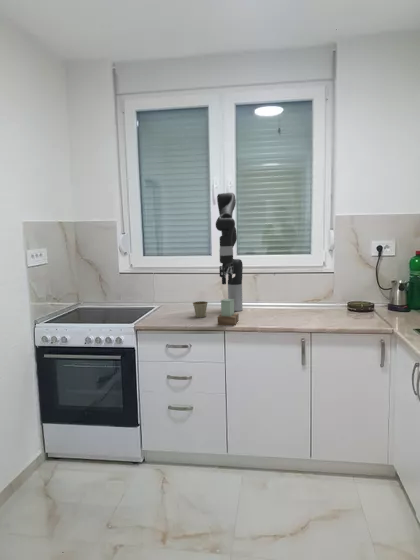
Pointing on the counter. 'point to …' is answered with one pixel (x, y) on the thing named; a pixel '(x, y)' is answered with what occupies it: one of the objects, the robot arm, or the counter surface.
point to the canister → (227, 307)
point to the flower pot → (200, 308)
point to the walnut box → (228, 319)
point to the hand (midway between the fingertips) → (227, 283)
